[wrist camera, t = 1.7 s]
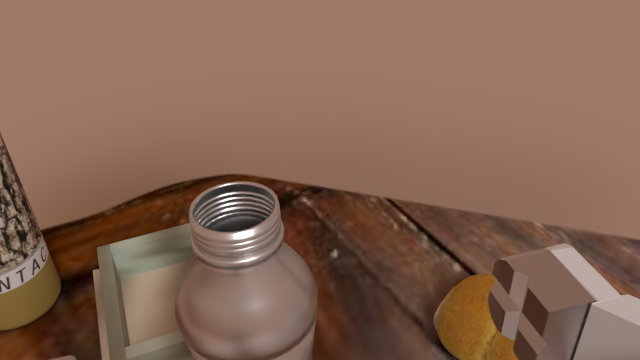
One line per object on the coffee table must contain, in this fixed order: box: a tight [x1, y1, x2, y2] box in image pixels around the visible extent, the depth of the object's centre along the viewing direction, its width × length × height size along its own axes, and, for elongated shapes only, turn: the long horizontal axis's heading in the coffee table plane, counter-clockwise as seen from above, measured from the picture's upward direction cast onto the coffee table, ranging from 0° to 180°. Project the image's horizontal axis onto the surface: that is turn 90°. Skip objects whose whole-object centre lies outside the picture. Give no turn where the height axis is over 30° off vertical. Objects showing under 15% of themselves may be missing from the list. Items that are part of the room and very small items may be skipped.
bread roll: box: [433, 274, 519, 360], centre depth 42 cm, size 8×9×4 cm
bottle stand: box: [93, 223, 195, 360], centre depth 44 cm, size 14×14×4 cm
